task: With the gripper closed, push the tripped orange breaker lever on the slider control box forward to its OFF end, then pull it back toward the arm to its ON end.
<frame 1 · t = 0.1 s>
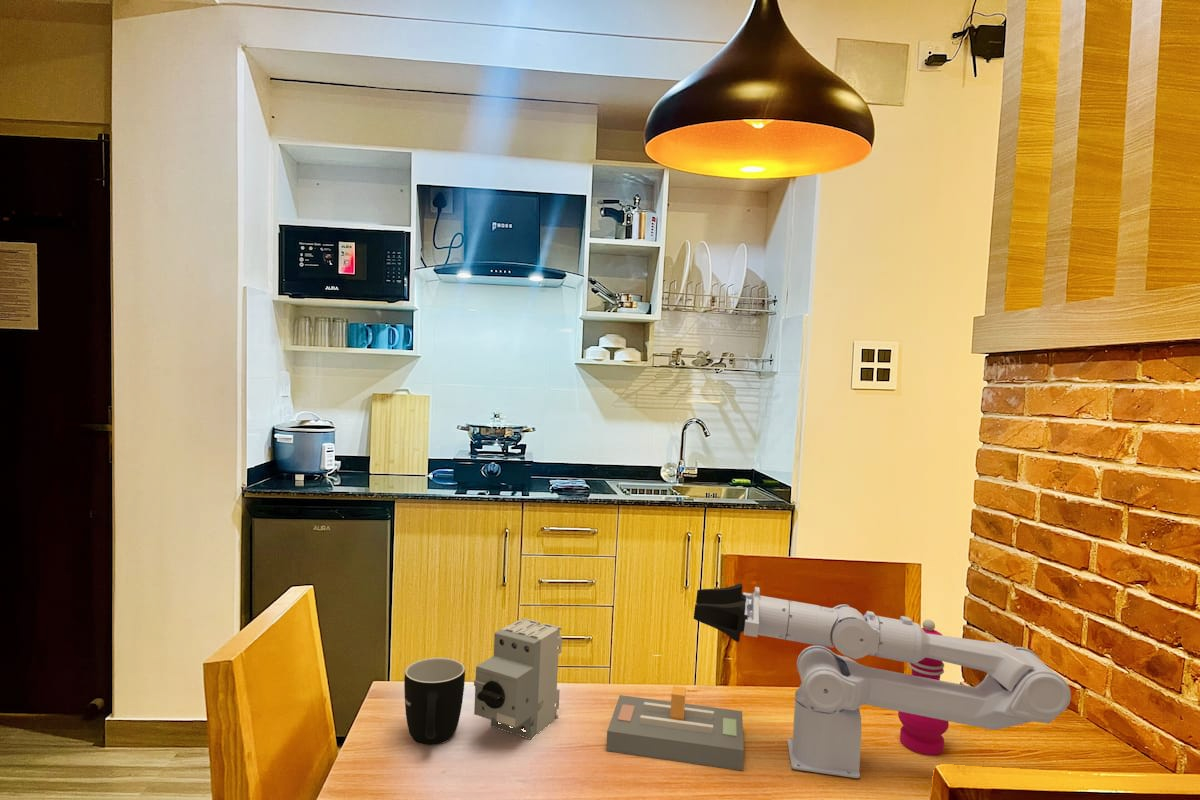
hand: (695, 603, 105), 22 cm above the table, tool horizontal, fingers open, 7 cm apart
mug: (432, 741, 103), on the table
breaker lever: (678, 705, 106), point 5 cm above the table, slide at 0.0 cm
circuit breaker: (514, 731, 107), on the table
pepper mill: (921, 745, 108), on the table
slider control box: (676, 739, 106), on the table
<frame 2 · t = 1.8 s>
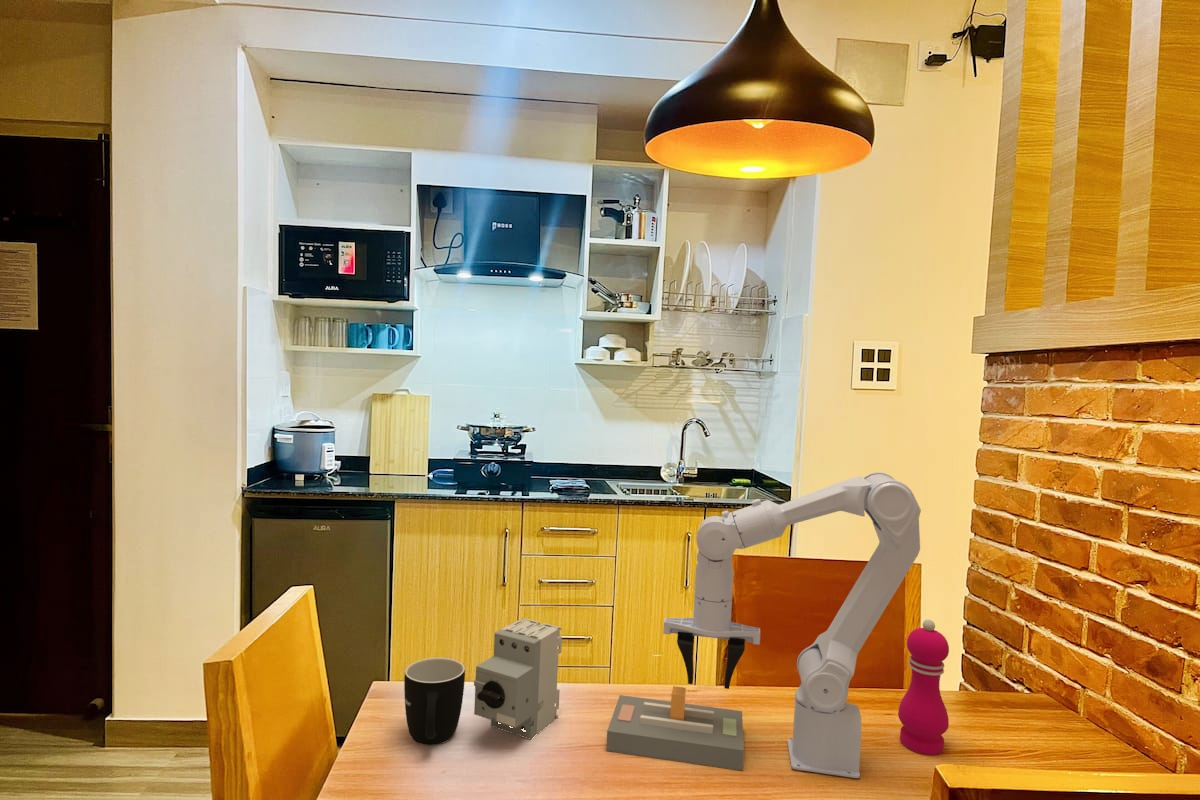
hand: (708, 683, 105), 9 cm above the table, tool pointing down, fingers open, 5 cm apart
nothing on the table moved.
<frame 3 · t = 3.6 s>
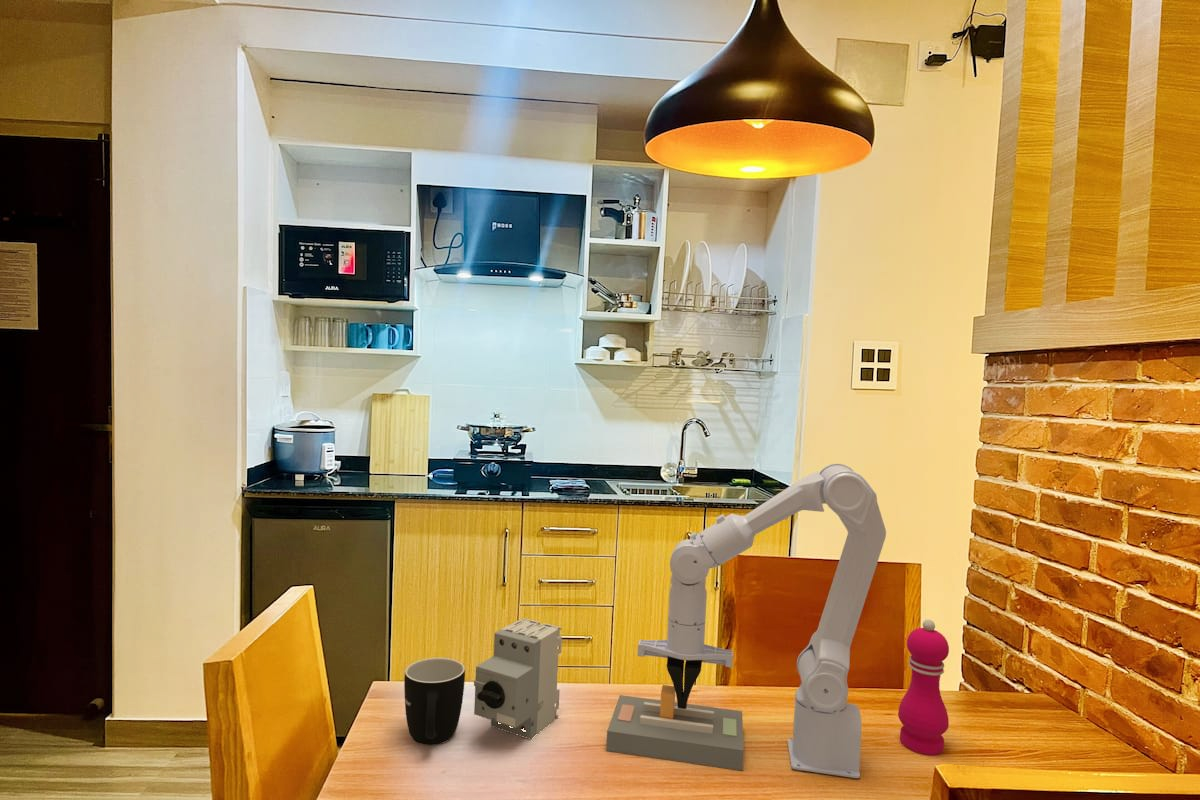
hand: (682, 705, 106), 5 cm above the table, tool pointing down, fingers closed
breaker lever: (667, 703, 107), point 5 cm above the table, slide at 1.6 cm, touching gripper
everything else where it was.
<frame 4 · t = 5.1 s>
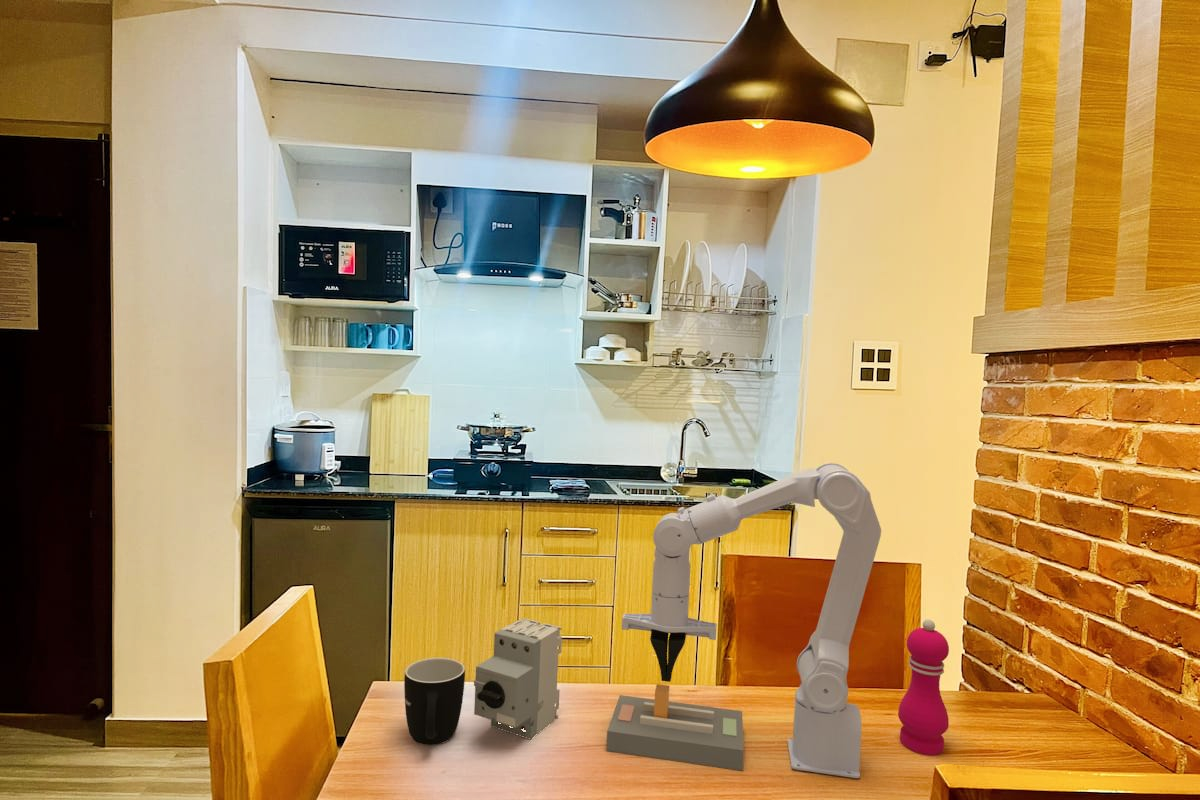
hand: (666, 678, 106), 9 cm above the table, tool pointing down, fingers closed
breaker lever: (661, 702, 107), point 5 cm above the table, slide at 2.6 cm
everything else where it was.
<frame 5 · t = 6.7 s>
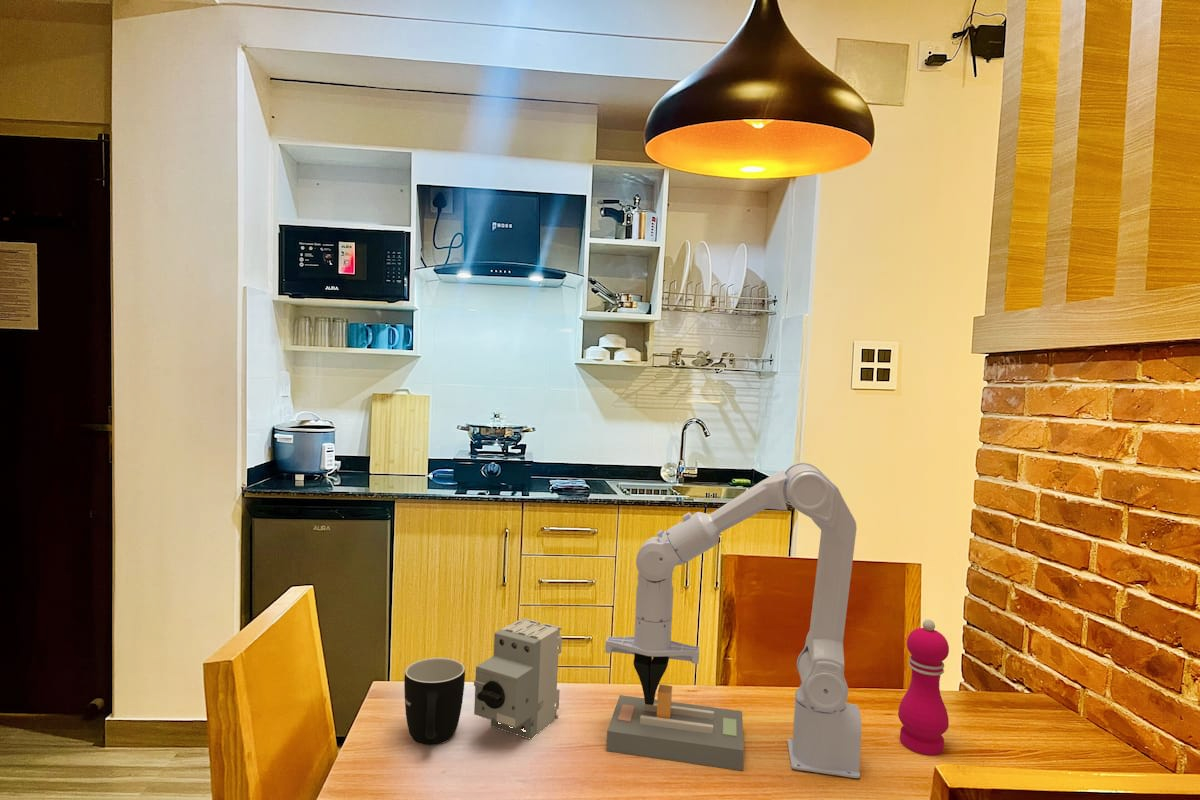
hand: (649, 701, 107), 5 cm above the table, tool pointing down, fingers closed
breaker lever: (664, 703, 107), point 5 cm above the table, slide at 2.1 cm, touching gripper
everything else where it was.
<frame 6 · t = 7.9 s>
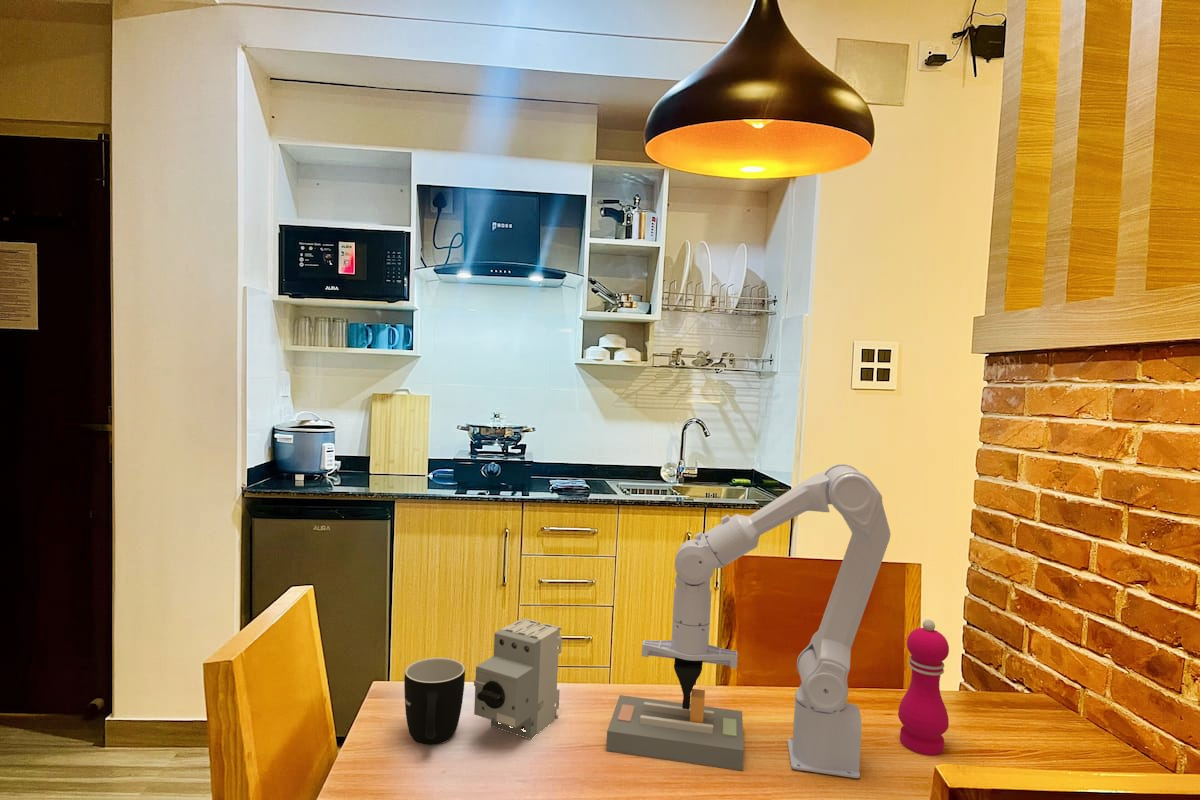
hand: (686, 706, 106), 5 cm above the table, tool pointing down, fingers closed
breaker lever: (697, 707, 106), point 5 cm above the table, slide at -3.0 cm, touching gripper
everything else where it was.
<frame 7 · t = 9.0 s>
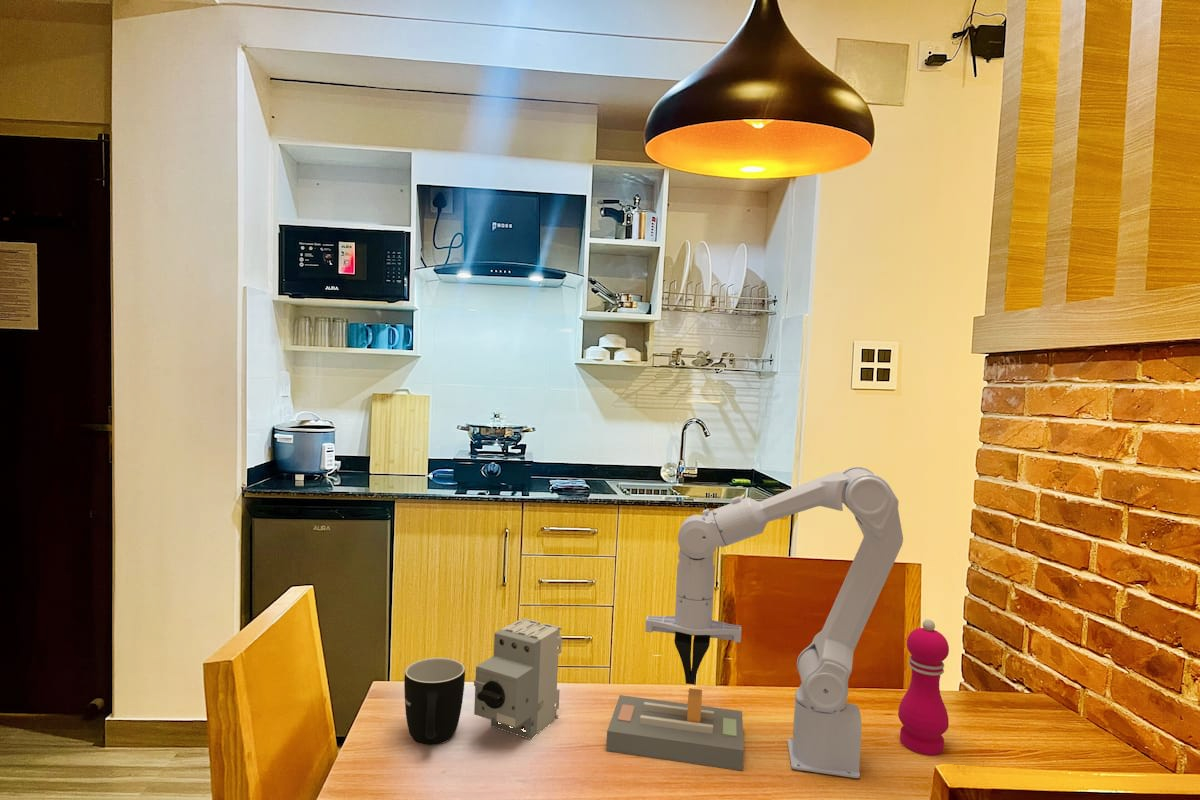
hand: (690, 681, 106), 9 cm above the table, tool pointing down, fingers closed
breaker lever: (694, 707, 106), point 5 cm above the table, slide at -2.6 cm
everything else where it was.
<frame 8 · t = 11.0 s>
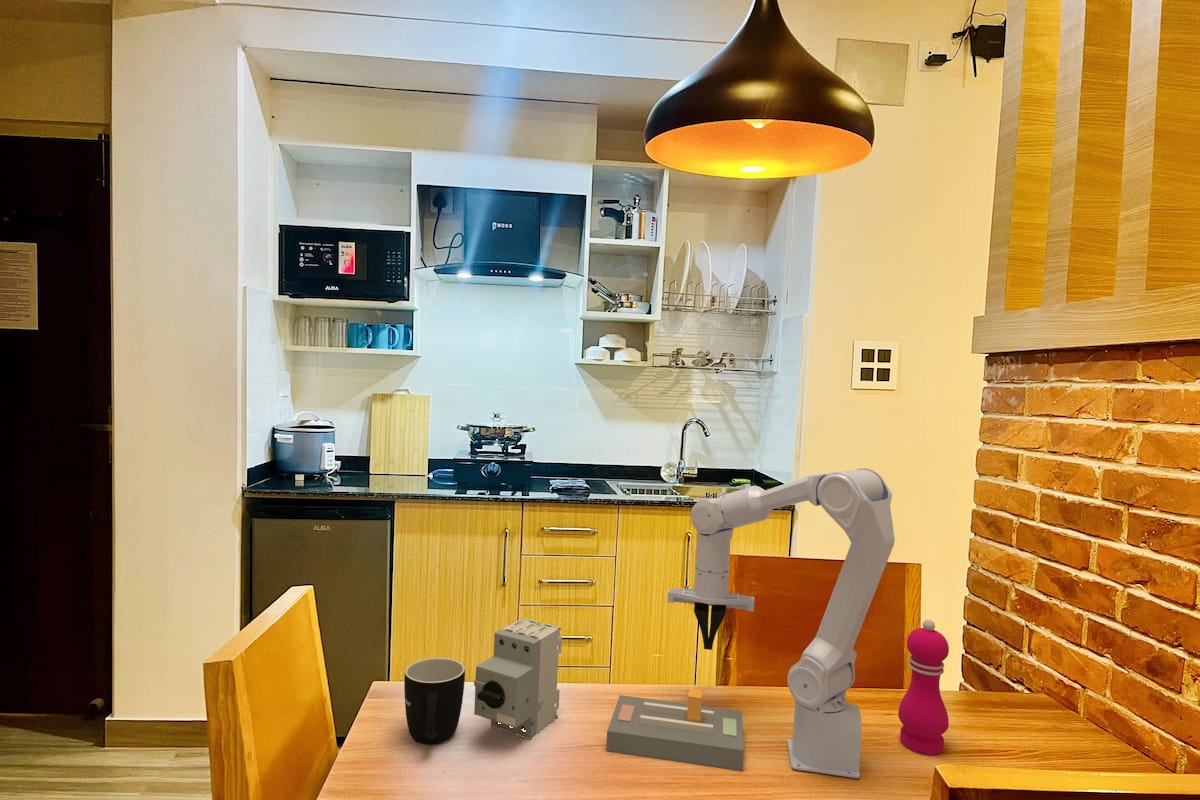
hand: (708, 647, 117), 10 cm above the table, tool pointing down, fingers closed
nothing on the table moved.
at the end: breaker lever slide at -2.6 cm; circuit breaker moved 0.2 cm from its start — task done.
